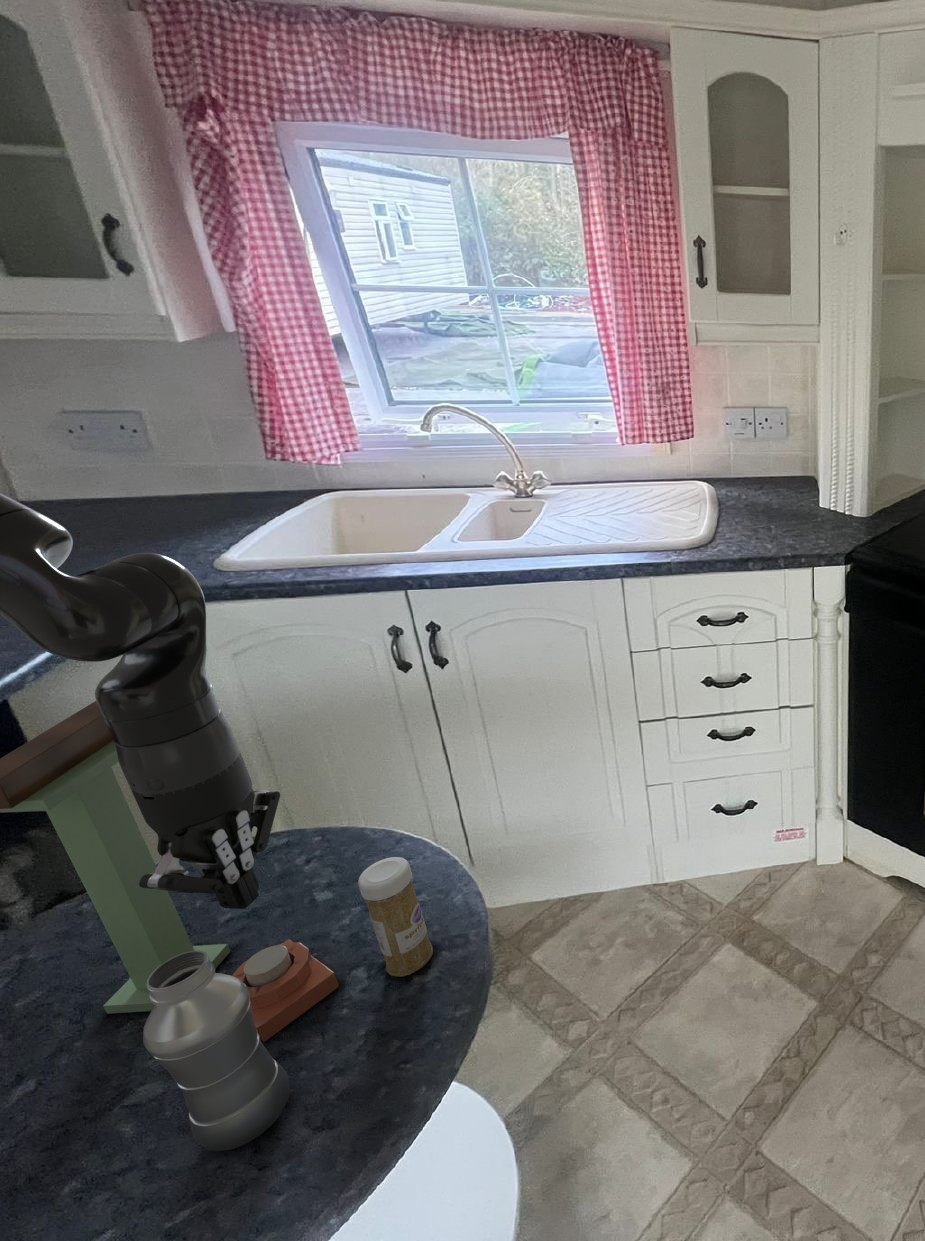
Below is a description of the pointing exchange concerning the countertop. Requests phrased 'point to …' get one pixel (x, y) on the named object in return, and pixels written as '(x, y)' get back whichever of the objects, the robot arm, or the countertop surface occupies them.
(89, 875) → the shelf stand
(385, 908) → the sprinkles bottle
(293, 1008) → the orange button pad
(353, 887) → the countertop surface
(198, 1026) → the grey bottle
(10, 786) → the brown wooden bar
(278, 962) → the push button
